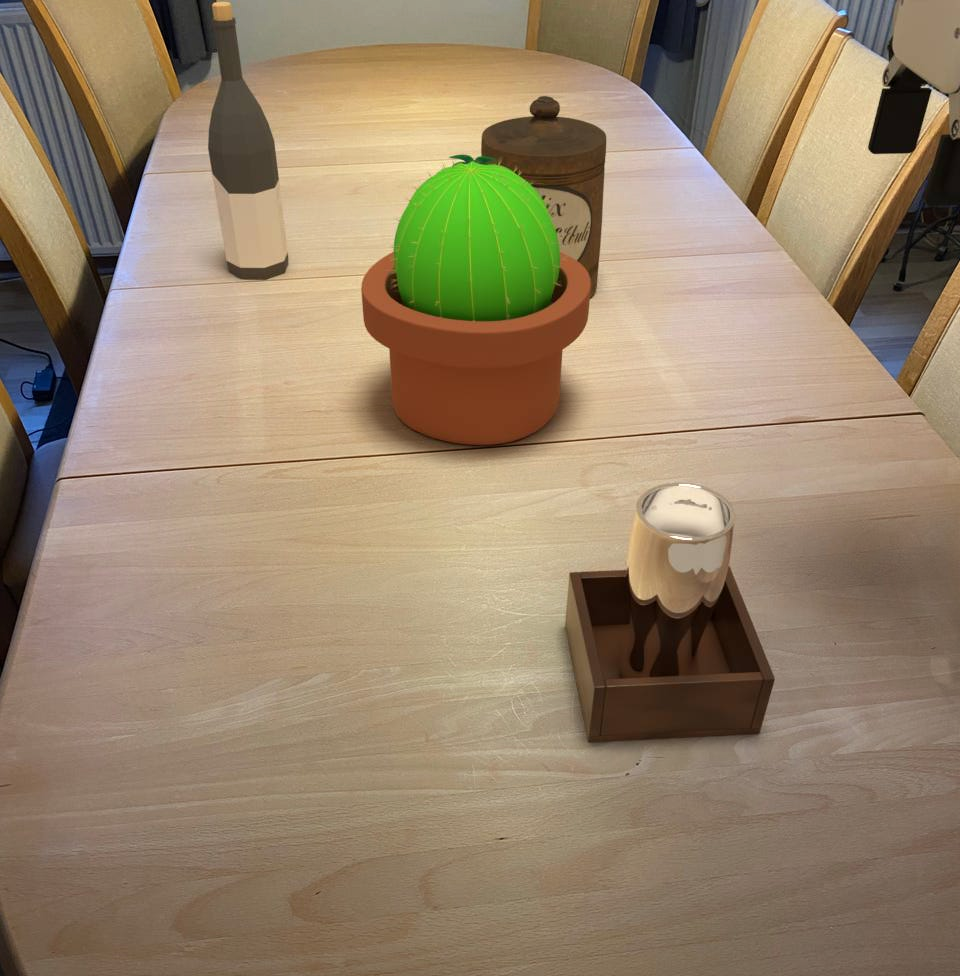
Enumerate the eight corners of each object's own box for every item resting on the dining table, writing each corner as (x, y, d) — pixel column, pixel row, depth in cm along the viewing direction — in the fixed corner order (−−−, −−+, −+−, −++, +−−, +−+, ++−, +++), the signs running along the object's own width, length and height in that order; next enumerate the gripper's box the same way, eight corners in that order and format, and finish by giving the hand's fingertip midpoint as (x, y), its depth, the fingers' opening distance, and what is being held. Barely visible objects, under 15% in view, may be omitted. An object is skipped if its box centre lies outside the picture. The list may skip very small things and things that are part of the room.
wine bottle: (296, 275, 133) (265, 8, 113) (234, 284, 131) (191, 14, 111) (281, 251, 139) (249, -7, 118) (222, 260, 136) (178, -2, 116)
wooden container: (467, 304, 127) (467, 111, 112) (495, 257, 137) (497, 75, 123) (586, 317, 124) (601, 122, 109) (604, 268, 135) (621, 84, 120)
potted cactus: (531, 481, 98) (544, 216, 81) (333, 429, 105) (307, 175, 88) (608, 380, 113) (632, 137, 96) (430, 340, 120) (424, 107, 103)
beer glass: (676, 717, 75) (708, 555, 65) (595, 676, 78) (613, 515, 68) (720, 665, 79) (757, 504, 69) (642, 628, 82) (666, 469, 72)
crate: (717, 618, 84) (729, 565, 80) (760, 733, 75) (775, 678, 71) (564, 625, 83) (569, 571, 79) (588, 742, 74) (594, 687, 70)
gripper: (1165, -132, 50) (1034, 225, 61) (1005, -167, 62) (922, 134, 74) (1015, -131, 49) (912, 228, 61) (885, -167, 62) (820, 136, 74)
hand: (917, 176), depth 67 cm, fingers open, 9 cm apart
